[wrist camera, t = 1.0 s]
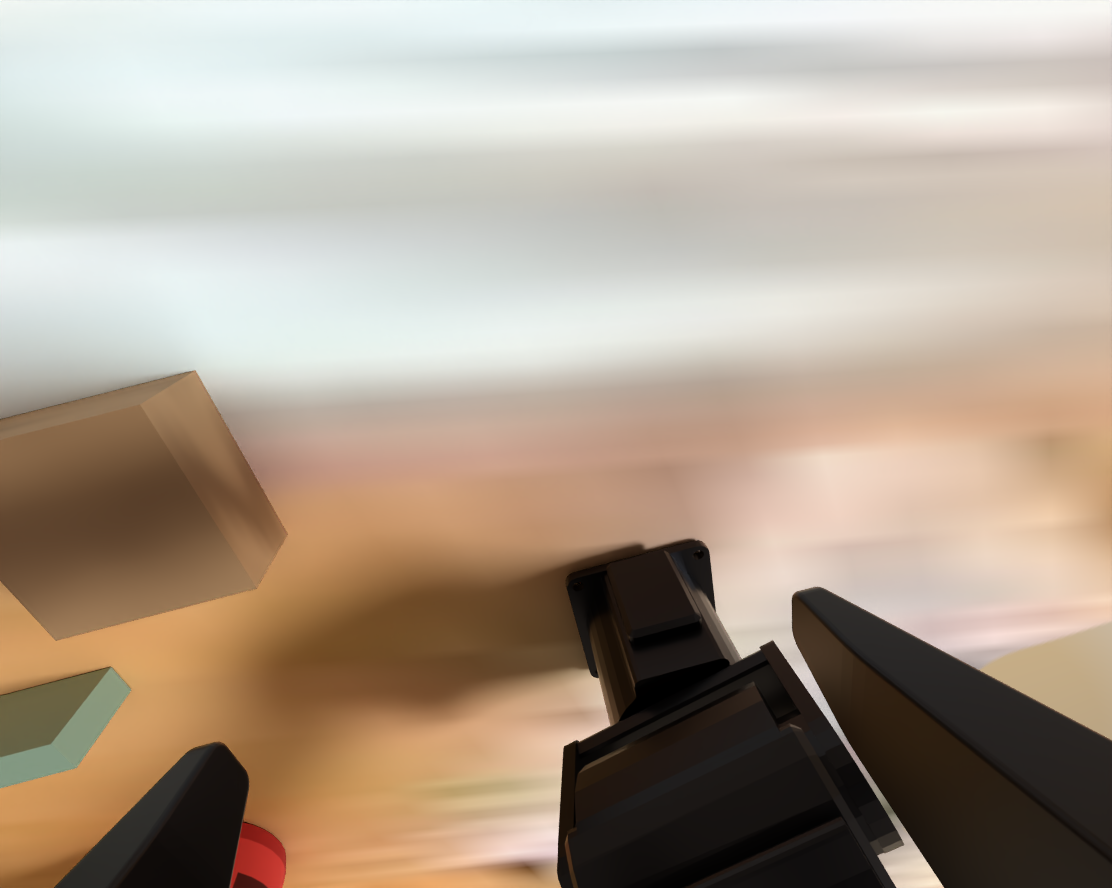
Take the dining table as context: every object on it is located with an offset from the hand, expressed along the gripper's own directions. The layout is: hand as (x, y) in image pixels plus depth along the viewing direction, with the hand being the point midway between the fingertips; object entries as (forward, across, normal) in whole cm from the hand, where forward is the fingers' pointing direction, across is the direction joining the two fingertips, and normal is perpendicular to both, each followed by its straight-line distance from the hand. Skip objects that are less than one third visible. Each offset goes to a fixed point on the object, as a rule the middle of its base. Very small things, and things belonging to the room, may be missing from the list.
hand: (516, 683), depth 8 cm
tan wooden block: (+13, +13, 0) cm, 18 cm away
